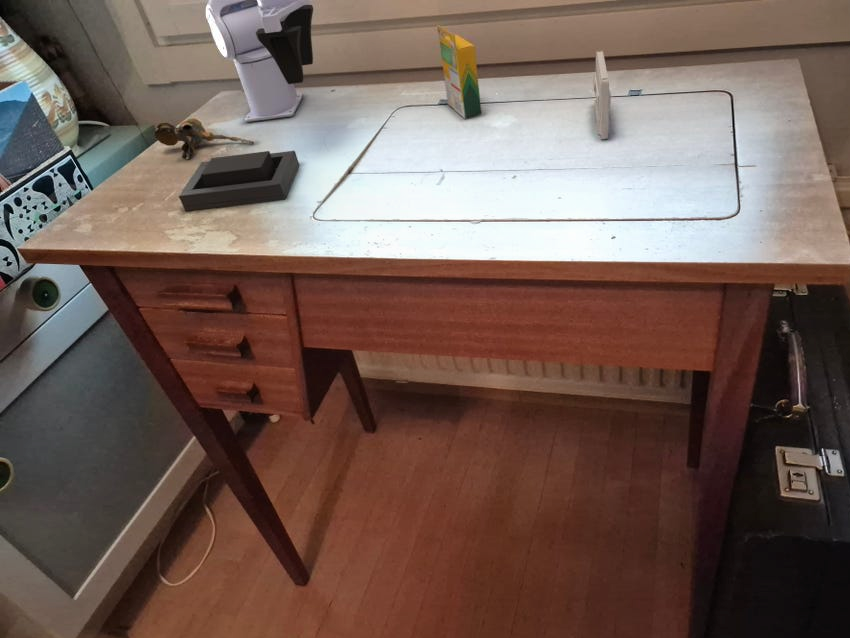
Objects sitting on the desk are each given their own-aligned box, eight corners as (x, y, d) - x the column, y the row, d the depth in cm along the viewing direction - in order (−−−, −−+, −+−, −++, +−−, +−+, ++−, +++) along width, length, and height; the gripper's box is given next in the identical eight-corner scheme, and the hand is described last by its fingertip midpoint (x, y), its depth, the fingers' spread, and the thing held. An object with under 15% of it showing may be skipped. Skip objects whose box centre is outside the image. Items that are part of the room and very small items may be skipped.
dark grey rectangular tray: (207, 176, 93) (201, 161, 91) (299, 165, 92) (294, 150, 90) (185, 211, 85) (178, 195, 84) (285, 199, 84) (279, 183, 83)
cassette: (611, 139, 86) (612, 79, 81) (597, 140, 86) (597, 81, 81) (605, 105, 95) (606, 49, 90) (592, 106, 95) (592, 50, 90)
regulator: (262, 138, 103) (169, 129, 103) (255, 118, 99) (158, 109, 100) (249, 173, 99) (152, 164, 100) (241, 154, 96) (141, 144, 96)
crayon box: (483, 114, 98) (473, 30, 90) (464, 119, 97) (453, 35, 90) (465, 100, 103) (454, 19, 96) (447, 104, 102) (435, 24, 95)
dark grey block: (276, 171, 90) (269, 150, 88) (268, 188, 86) (260, 167, 84) (219, 178, 90) (211, 157, 88) (209, 195, 86) (200, 174, 84)
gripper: (288, -30, 78) (320, 87, 87) (309, -53, 89) (336, 53, 98) (230, -22, 78) (268, 94, 87) (259, -46, 89) (289, 59, 98)
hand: (300, 73), depth 92 cm, fingers open, 7 cm apart
